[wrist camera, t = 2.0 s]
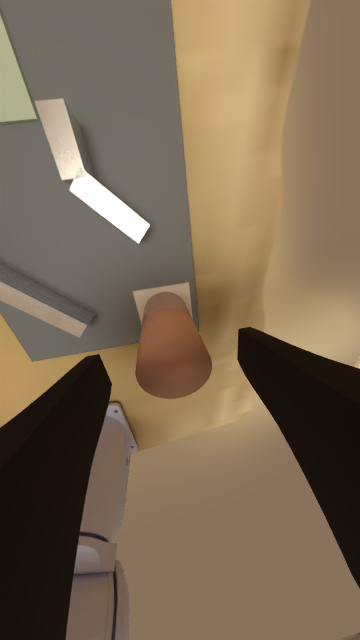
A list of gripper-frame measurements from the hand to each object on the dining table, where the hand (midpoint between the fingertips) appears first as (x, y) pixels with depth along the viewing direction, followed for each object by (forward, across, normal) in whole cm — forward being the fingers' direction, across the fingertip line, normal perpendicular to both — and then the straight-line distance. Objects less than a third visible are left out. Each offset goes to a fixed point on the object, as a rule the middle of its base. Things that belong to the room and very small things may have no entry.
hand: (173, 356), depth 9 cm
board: (+7, +5, -7) cm, 11 cm away
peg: (+6, 0, 0) cm, 6 cm away
